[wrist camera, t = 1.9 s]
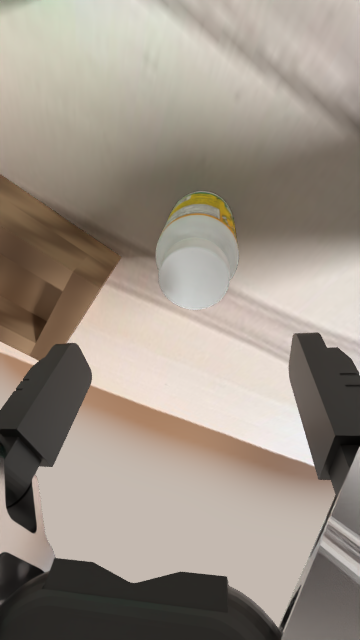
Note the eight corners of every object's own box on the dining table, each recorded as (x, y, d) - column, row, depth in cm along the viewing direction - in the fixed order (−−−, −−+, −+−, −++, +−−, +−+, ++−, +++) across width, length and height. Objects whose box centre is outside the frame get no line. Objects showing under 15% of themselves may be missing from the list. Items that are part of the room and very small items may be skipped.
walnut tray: (122, 255, 25) (100, 288, 20) (75, 329, 32) (50, 366, 27) (-5, 168, 22) (-67, 183, 17) (-28, 271, 28) (-77, 302, 23)
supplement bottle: (171, 187, 21) (144, 227, 13) (239, 192, 20) (252, 237, 13) (169, 251, 24) (146, 314, 16) (228, 257, 24) (233, 323, 16)
